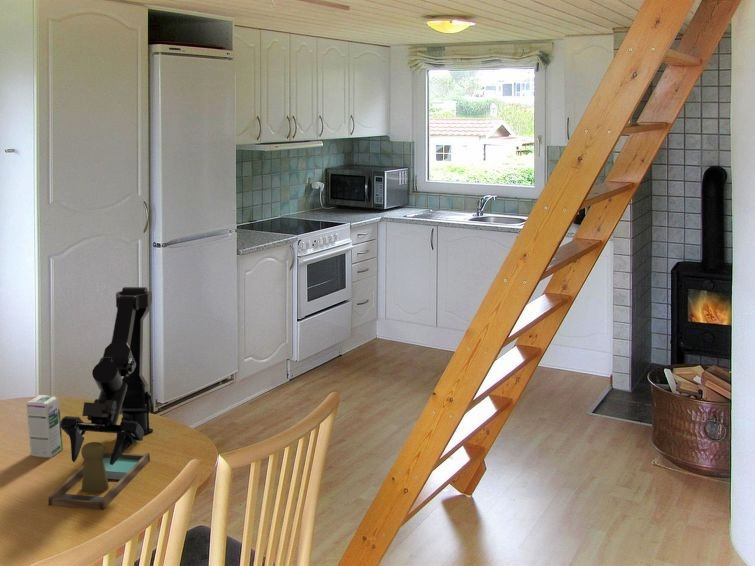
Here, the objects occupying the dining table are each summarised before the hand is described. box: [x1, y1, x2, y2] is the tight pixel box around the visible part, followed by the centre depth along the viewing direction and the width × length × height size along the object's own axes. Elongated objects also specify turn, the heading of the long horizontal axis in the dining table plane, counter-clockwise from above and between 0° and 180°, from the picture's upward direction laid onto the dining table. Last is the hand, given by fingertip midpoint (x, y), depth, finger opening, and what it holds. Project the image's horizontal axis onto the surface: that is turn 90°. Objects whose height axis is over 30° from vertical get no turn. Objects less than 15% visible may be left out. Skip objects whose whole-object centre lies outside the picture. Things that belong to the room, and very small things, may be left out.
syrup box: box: [25, 394, 64, 459], centre depth 227 cm, size 6×6×14 cm
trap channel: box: [47, 451, 151, 511], centre depth 213 cm, size 26×13×2 cm, turn 171°
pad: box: [103, 457, 139, 473], centre depth 221 cm, size 7×10×1 cm
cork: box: [80, 441, 110, 495], centre depth 208 cm, size 6×6×11 cm
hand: (92, 462), depth 207 cm, fingers open, 9 cm apart
